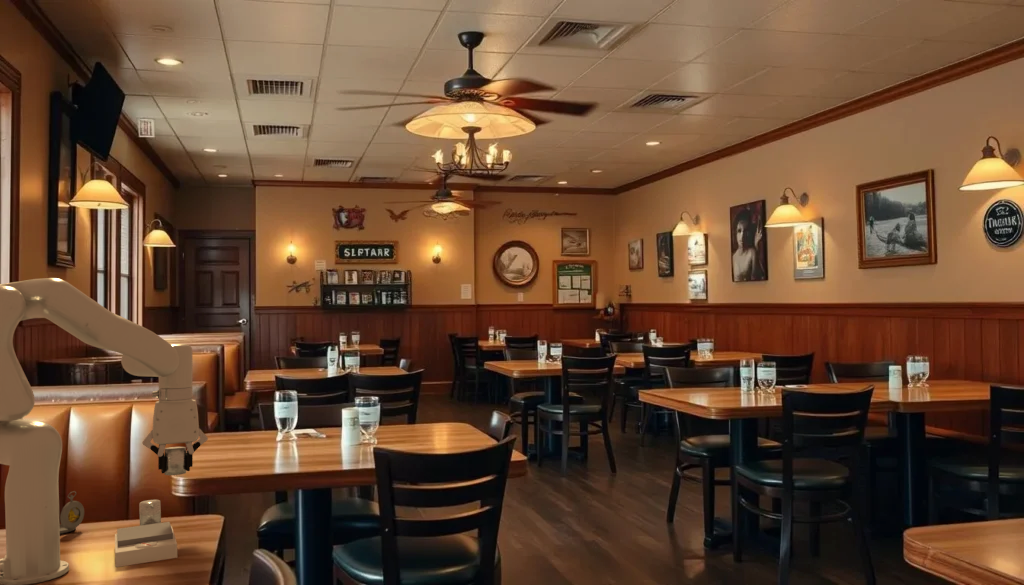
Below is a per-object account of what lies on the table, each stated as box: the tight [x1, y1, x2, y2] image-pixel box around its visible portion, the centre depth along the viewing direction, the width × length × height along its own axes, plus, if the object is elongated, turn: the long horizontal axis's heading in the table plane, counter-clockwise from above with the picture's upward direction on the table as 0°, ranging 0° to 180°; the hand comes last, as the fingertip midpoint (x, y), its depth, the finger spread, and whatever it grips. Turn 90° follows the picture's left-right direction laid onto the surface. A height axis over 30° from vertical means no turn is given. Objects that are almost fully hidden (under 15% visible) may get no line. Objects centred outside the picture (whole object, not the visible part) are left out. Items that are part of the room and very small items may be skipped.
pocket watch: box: [59, 490, 85, 535], centre depth 198 cm, size 8×8×10 cm
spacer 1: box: [138, 499, 162, 526], centre depth 201 cm, size 5×5×6 cm
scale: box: [114, 521, 178, 568], centre depth 180 cm, size 12×16×4 cm
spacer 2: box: [164, 446, 187, 476], centre depth 194 cm, size 5×5×6 cm
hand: (175, 470), depth 194 cm, fingers closed on spacer 2, 4 cm apart
